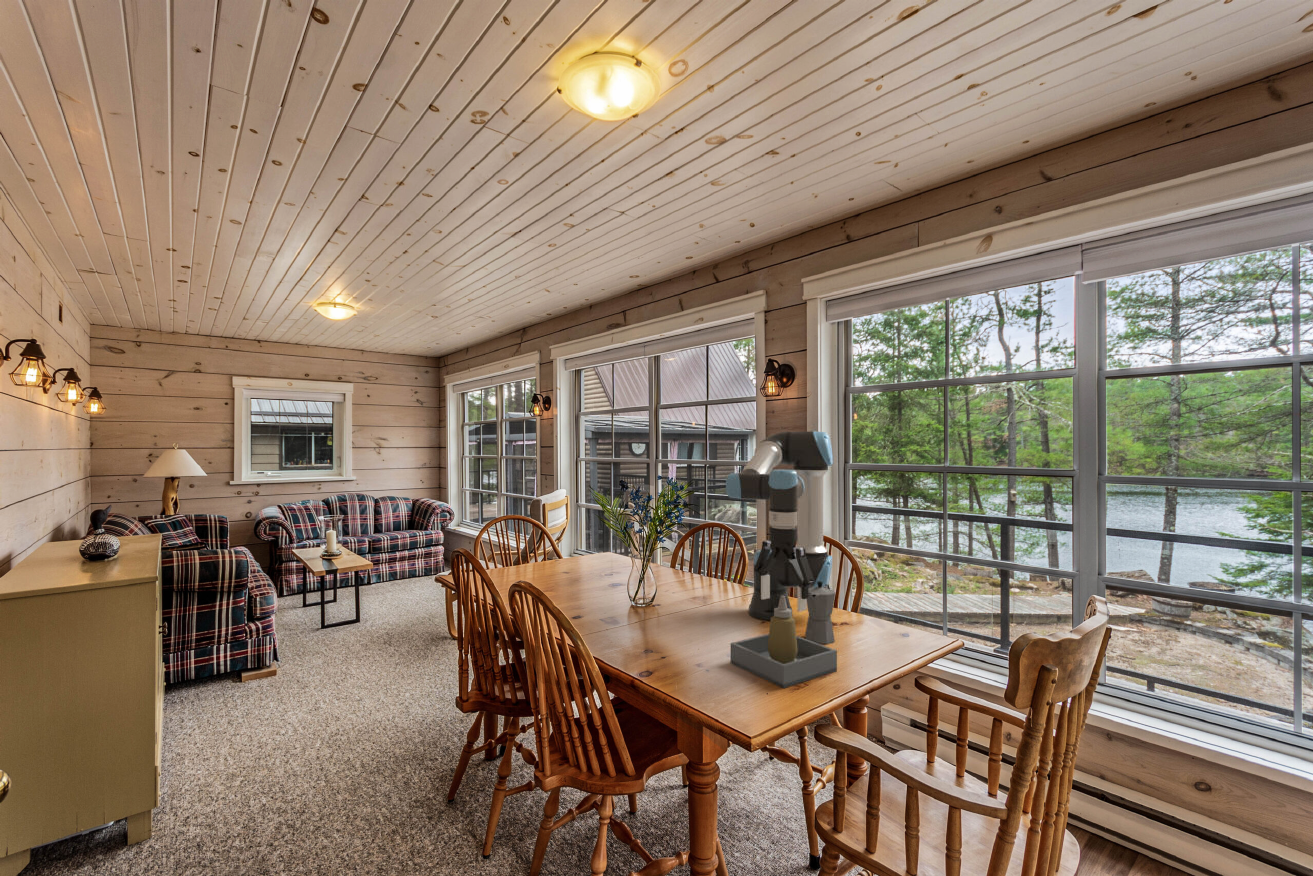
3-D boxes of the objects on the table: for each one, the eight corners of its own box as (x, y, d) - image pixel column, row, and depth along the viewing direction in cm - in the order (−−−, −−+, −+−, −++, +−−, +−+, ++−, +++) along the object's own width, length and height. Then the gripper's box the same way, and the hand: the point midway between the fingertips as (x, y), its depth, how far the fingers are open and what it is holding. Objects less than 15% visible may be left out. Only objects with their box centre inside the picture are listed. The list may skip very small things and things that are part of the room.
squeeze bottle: (795, 670, 156) (795, 601, 156) (765, 665, 158) (765, 598, 159) (799, 659, 163) (799, 594, 163) (770, 655, 166) (770, 591, 166)
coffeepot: (828, 648, 175) (828, 587, 175) (797, 642, 180) (797, 583, 180) (843, 634, 188) (843, 577, 188) (814, 629, 193) (814, 574, 193)
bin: (781, 649, 175) (782, 630, 175) (836, 671, 158) (836, 650, 158) (730, 663, 164) (730, 643, 164) (783, 688, 147) (783, 666, 147)
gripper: (741, 522, 169) (741, 595, 169) (808, 534, 148) (809, 618, 149) (760, 519, 173) (761, 591, 174) (828, 531, 153) (828, 613, 153)
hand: (783, 604), depth 161 cm, fingers open, 13 cm apart
